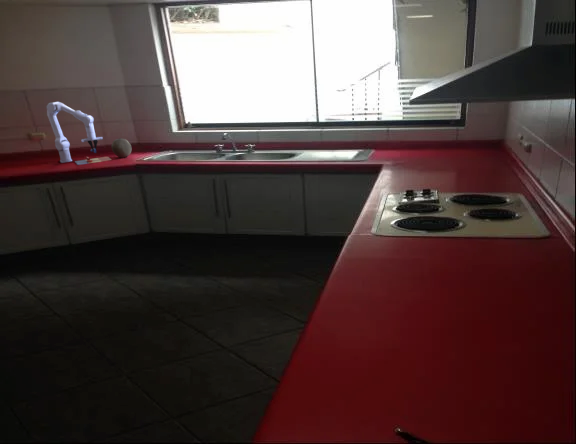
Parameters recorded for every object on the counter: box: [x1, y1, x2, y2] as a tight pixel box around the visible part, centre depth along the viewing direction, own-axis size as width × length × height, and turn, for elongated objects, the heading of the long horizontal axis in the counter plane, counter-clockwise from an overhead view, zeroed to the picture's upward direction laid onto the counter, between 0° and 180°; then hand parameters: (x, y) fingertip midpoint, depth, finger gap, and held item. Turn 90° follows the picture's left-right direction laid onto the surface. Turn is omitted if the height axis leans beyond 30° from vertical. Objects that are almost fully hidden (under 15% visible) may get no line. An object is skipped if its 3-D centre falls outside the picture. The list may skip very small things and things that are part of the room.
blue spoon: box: [90, 147, 98, 154], centre depth 318 cm, size 11×4×3 cm, turn 34°
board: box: [74, 156, 113, 166], centre depth 318 cm, size 16×24×1 cm, turn 123°
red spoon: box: [86, 156, 93, 164], centre depth 316 cm, size 11×4×3 cm, turn 33°
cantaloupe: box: [111, 138, 132, 159], centre depth 321 cm, size 14×14×15 cm
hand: (94, 150), depth 316 cm, fingers closed on blue spoon
